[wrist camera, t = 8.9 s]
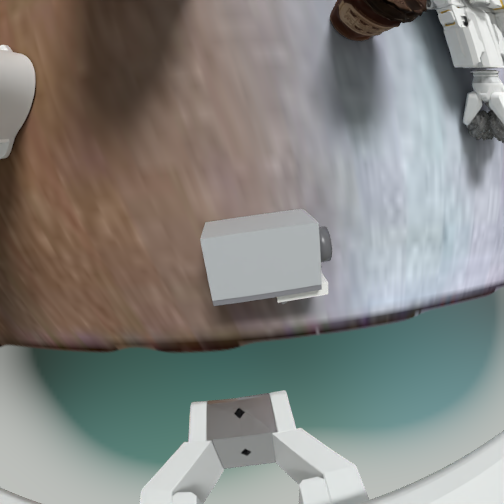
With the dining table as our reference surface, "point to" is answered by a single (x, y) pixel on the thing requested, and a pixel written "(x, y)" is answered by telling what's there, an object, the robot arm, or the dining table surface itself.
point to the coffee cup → (373, 16)
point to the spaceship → (477, 57)
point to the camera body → (264, 256)
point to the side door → (305, 295)
